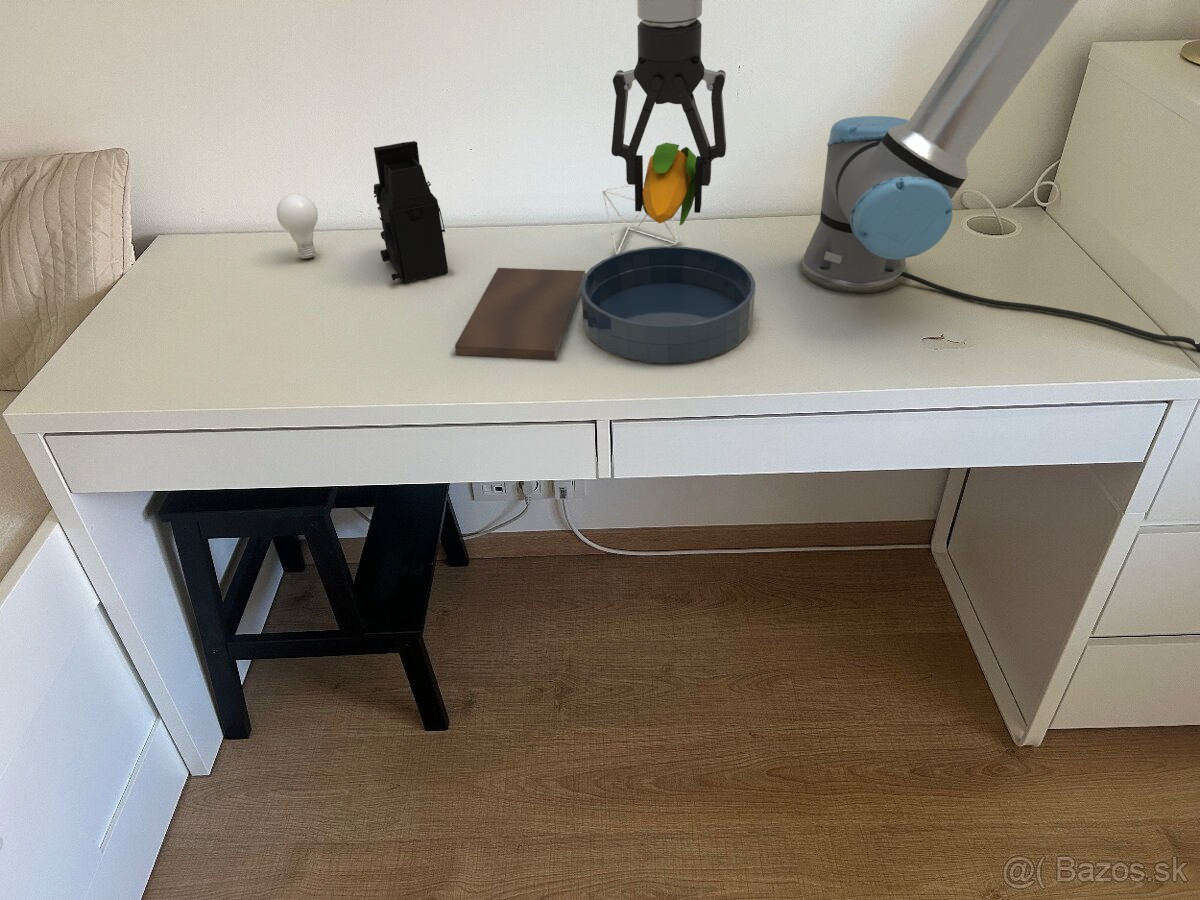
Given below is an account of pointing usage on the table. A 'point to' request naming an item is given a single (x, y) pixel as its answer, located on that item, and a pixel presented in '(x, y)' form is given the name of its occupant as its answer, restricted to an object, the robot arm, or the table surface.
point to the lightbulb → (299, 221)
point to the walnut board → (522, 314)
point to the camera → (408, 214)
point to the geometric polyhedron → (633, 221)
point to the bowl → (667, 304)
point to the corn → (669, 183)
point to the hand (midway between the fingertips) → (668, 207)
